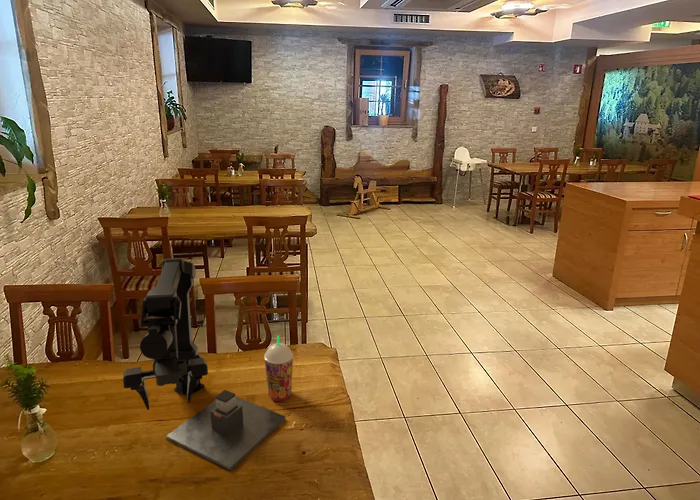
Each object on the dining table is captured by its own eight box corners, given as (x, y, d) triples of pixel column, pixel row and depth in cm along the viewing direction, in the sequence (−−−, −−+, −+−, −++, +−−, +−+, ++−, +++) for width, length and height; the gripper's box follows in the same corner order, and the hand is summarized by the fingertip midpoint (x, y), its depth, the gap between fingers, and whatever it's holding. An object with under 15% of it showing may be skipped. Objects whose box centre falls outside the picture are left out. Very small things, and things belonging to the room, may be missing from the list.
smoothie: (260, 400, 141) (257, 339, 135) (275, 385, 148) (272, 327, 142) (285, 407, 138) (283, 345, 132) (299, 391, 145) (297, 332, 139)
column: (227, 418, 131) (225, 389, 128) (237, 423, 129) (235, 393, 126) (217, 426, 128) (215, 396, 125) (227, 430, 126) (225, 401, 123)
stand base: (226, 395, 143) (224, 376, 141) (285, 419, 133) (285, 399, 131) (166, 439, 125) (163, 418, 123) (230, 470, 114) (228, 448, 112)
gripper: (119, 361, 104) (125, 429, 106) (208, 348, 111) (212, 412, 113) (122, 345, 114) (127, 407, 116) (203, 335, 121) (206, 393, 123)
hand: (168, 405), depth 117 cm, fingers open, 9 cm apart
